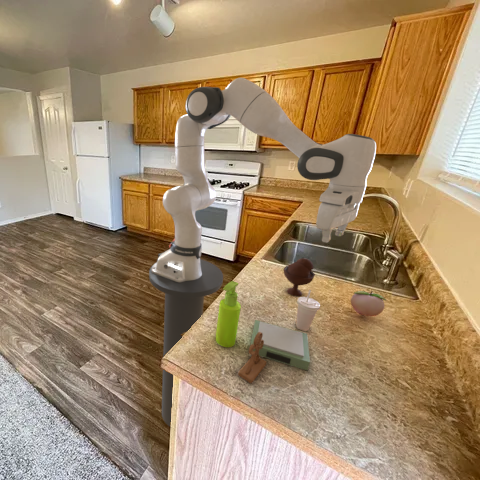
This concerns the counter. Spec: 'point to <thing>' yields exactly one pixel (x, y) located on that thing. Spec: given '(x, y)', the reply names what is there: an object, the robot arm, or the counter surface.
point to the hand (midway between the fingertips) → (332, 238)
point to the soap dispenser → (228, 317)
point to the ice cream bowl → (299, 275)
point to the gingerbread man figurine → (253, 361)
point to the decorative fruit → (367, 303)
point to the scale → (283, 344)
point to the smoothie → (306, 312)
